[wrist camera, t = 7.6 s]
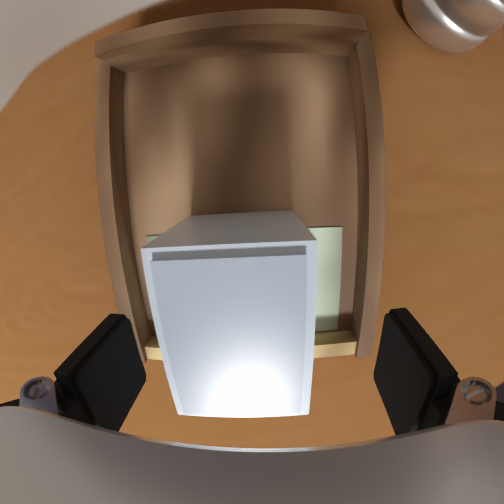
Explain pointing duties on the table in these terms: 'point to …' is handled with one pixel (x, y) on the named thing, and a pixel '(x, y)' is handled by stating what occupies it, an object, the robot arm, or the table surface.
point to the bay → (246, 149)
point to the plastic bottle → (454, 21)
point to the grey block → (235, 312)
